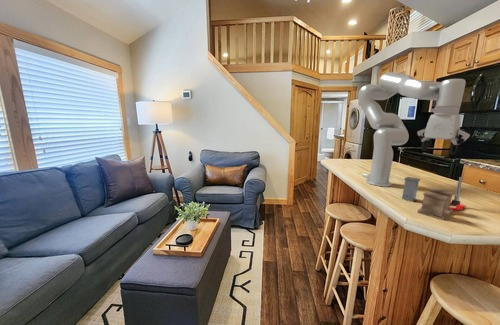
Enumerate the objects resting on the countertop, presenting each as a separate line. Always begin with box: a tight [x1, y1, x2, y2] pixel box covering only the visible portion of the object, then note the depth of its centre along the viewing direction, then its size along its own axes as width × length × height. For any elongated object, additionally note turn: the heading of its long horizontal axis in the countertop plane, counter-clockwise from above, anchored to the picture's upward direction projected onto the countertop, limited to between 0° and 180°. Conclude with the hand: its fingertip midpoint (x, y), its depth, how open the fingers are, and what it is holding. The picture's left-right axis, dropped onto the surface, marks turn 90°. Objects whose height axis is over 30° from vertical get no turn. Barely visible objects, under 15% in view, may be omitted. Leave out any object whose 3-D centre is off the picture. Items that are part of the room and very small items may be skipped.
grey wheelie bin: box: [401, 176, 421, 203], centre depth 96 cm, size 5×5×10 cm
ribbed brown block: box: [417, 187, 455, 221], centre depth 83 cm, size 8×14×8 cm, turn 128°
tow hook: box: [449, 176, 467, 212], centre depth 88 cm, size 8×13×9 cm
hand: (437, 152), depth 90 cm, fingers open, 9 cm apart
